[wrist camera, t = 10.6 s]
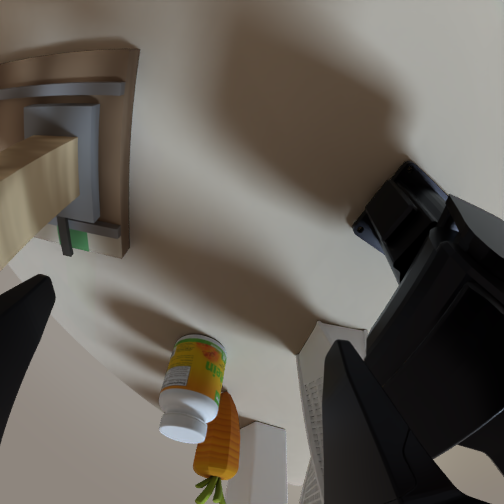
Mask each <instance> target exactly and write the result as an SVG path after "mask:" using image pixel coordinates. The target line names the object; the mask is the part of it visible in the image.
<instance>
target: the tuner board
mask: <svg viewBox="0 0 504 504" xmlns="http://www.w3.org/2000/svg"><path fill="white" fill-rule="evenodd" d="M139 54H140V50H139V49H108V50H90V51H78V52H68V53H60V54H52V55H45V56H39V57H33V58H27V59H22V60H17V61H12V62H7V63H3V64H0V152H1V151H3V150H5V149H7V148H9V147H10V146H12V145H14V144H16V143H18V142H20V141H22V140H24V107H26V106H29V105H32V104H56V103H90V104H100V113H99V140H98V176H99V203H100V217H99V218H98V220H97V221H96V222H95V223H89V222H84V221H79V220H75V219H70V218H68V222H69V230H70V237H71V243H72V248H76V249H80V250H84V251H91V252H96V253H100V254H104V255H108V256H112V257H117V258H121V259H122V258H123V257H124V255H125V254H126V252H127V251H128V249H129V248H130V240H129V161H130V140H131V125H132V112H133V101H134V92H135V83H136V75H137V67H138V60H139ZM34 237H36V238H40V239H43V240H47V241H51V242H55V243H59V244H60V245H61V241H60V235H59V229H58V223H57V216H55V217H54V218H53V219H52V220H51V221H50V222H49V223H48V224H47V225H45V226H44V227H43V228H42V229H41V230H40V231H39V232H38V233H37V234H36V235H35V236H34Z"/></svg>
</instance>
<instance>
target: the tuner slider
mask: <svg viewBox="0 0 504 504" xmlns="http://www.w3.org/2000/svg"><path fill="white" fill-rule="evenodd" d="M99 113H100V104H90V103H56V104H32V105H29V106H26V107H24V140H22V141H20V142H18V143H16V144H14V145H12V146H10V147H9V148H7V149H5V150H3V151H1V152H0V271H1V270H2V269H3V268H4V267H5V266H6V265H7V264H8V262H9V261H10V260H11V259H12V258H13V257H14V256H15V255H16V254H17V253H18V252H19V251H20V250H21V249H22V248H23V247H24V246H25V245H26V244H27V243H28V242H29V241H30V240H31V239H32V238H33V237H34V236H35V235H36V234H37V233H38V232H39V231H40V230H41V229H42V228H43V227H44V226H45V225H47V224H48V223H49V222H50V221H51V220H52V219H53V218H54V217H55V216H57V223H58V229H59V235H60V241H61V247H62V252H63V255H66V256H70V257H71V256H72V255H73V249H72V243H71V237H70V230H69V222H68V218H70V219H75V220H79V221H84V222H89V223H95V222H96V221H97V220H98V218H99V217H100V203H99V176H98V140H99Z"/></svg>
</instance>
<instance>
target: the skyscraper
mask: <svg viewBox="0 0 504 504" xmlns="http://www.w3.org/2000/svg"><path fill="white" fill-rule="evenodd" d="M367 337H368V332H367V330H363V331H362V330H357V329H351V328H346V327H340V326H335V325H330V324H325V323H321V321H317V323H316V326H315V328H314V330H313V332H312V333H311V335H310V337H309V338H308V340H307V342H306V343H305V345H304V347H303V348H302V350H301V351H300V353H299V355H298V354H297V355H296V362H297V370H298V379H299V387H300V395H301V402H302V409H303V415H304V422H305V428H306V433H307V439H308V444H309V449H310V454H311V458H310V461H309V465H308V469H307V472H306V476H305V480H304V484H303V489H302V493H301V497H300V502H299V504H324V457H323V425H322V394H323V378H324V361H325V357H326V355H327V353H328V351H329V350H330V348H331V346H332V345H333V343H334V341H335V340H337V339H341V340H348V341H350V342H351V344H352V345H353V346H354V348H355V349H356V351H357V352H358V353H359V355H360V356H361V358H362V359H363V361H364V358H365V356H366V339H367Z"/></svg>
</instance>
